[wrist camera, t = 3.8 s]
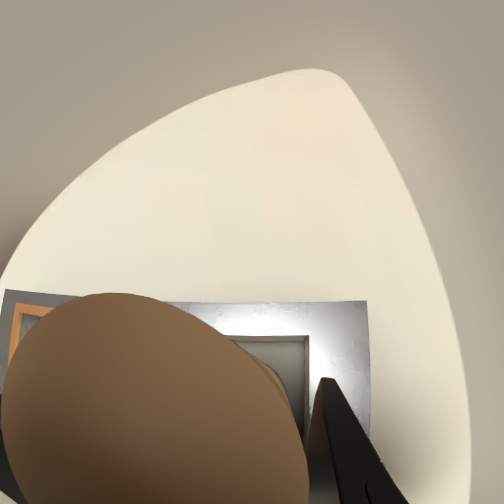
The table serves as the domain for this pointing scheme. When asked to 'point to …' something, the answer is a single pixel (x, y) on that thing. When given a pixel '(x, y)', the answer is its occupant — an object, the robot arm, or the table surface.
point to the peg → (146, 411)
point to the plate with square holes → (248, 338)
